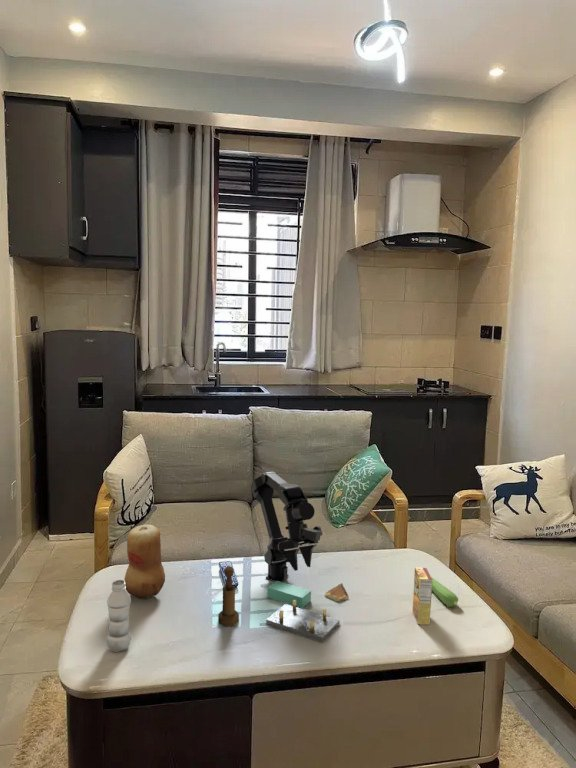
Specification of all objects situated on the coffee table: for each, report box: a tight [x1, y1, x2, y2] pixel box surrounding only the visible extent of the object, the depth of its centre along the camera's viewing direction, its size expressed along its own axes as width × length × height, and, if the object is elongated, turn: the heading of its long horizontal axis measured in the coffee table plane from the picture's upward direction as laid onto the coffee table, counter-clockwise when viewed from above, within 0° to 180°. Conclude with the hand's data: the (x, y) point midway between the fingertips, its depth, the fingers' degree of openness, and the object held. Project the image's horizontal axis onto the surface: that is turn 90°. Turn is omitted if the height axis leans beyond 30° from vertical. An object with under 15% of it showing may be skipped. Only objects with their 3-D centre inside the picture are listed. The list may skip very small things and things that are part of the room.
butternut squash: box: [124, 524, 166, 600], centre depth 195 cm, size 14×13×25 cm
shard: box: [324, 583, 349, 602], centre depth 201 cm, size 11×8×2 cm
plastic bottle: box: [106, 579, 132, 653], centre depth 164 cm, size 6×7×20 cm
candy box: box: [412, 567, 433, 626], centre depth 185 cm, size 9×4×15 cm, turn 0°
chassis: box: [265, 600, 340, 643], centre depth 180 cm, size 20×12×4 cm, turn 60°
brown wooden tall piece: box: [217, 566, 240, 627], centre depth 180 cm, size 7×6×18 cm
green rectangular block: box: [266, 581, 312, 609], centre depth 196 cm, size 14×6×4 cm, turn 59°
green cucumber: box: [431, 576, 459, 608], centre depth 201 cm, size 5×20×5 cm
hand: (302, 568), depth 194 cm, fingers open, 9 cm apart
